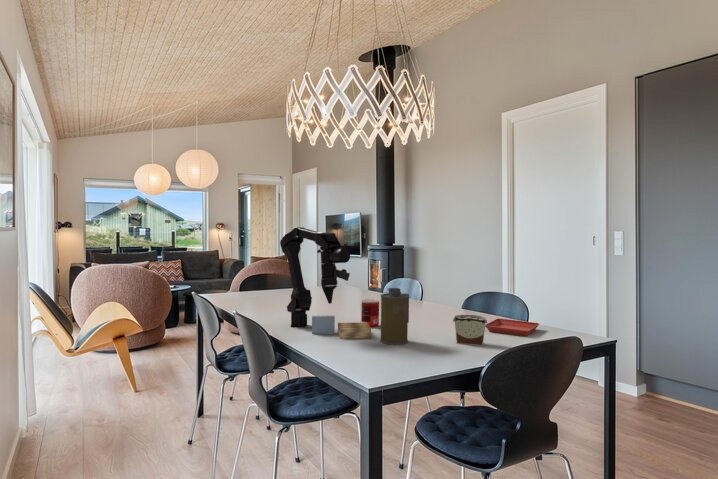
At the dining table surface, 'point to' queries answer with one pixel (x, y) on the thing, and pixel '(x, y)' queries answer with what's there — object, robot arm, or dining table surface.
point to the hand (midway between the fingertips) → (330, 302)
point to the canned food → (370, 312)
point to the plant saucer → (511, 327)
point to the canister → (394, 317)
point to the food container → (470, 329)
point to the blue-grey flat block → (323, 324)
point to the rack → (354, 330)
